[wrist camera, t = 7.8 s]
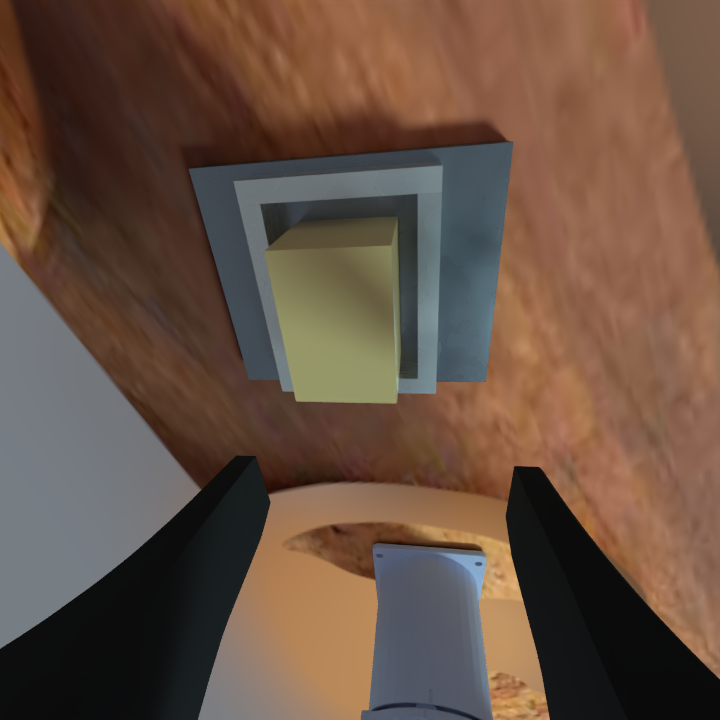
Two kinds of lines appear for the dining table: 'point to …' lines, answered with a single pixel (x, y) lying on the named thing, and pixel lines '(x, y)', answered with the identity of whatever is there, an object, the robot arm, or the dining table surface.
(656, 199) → the dining table surface
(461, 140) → the dining table surface
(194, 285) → the dining table surface
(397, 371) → the block
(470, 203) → the plate
